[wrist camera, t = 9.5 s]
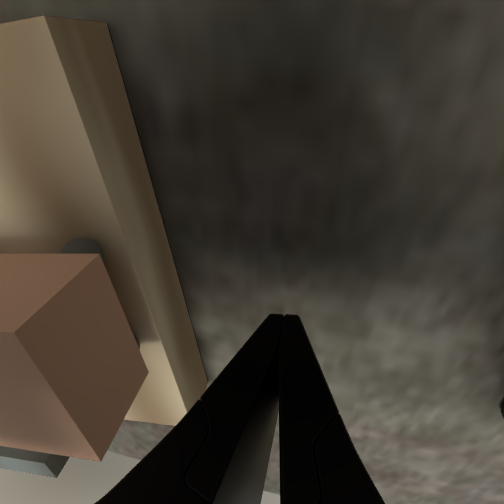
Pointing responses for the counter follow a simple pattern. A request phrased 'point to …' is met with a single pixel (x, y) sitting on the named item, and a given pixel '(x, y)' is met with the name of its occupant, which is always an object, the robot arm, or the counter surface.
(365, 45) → the counter surface
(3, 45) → the dock
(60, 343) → the tan cardboard-like brick
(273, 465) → the counter surface
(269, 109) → the counter surface
